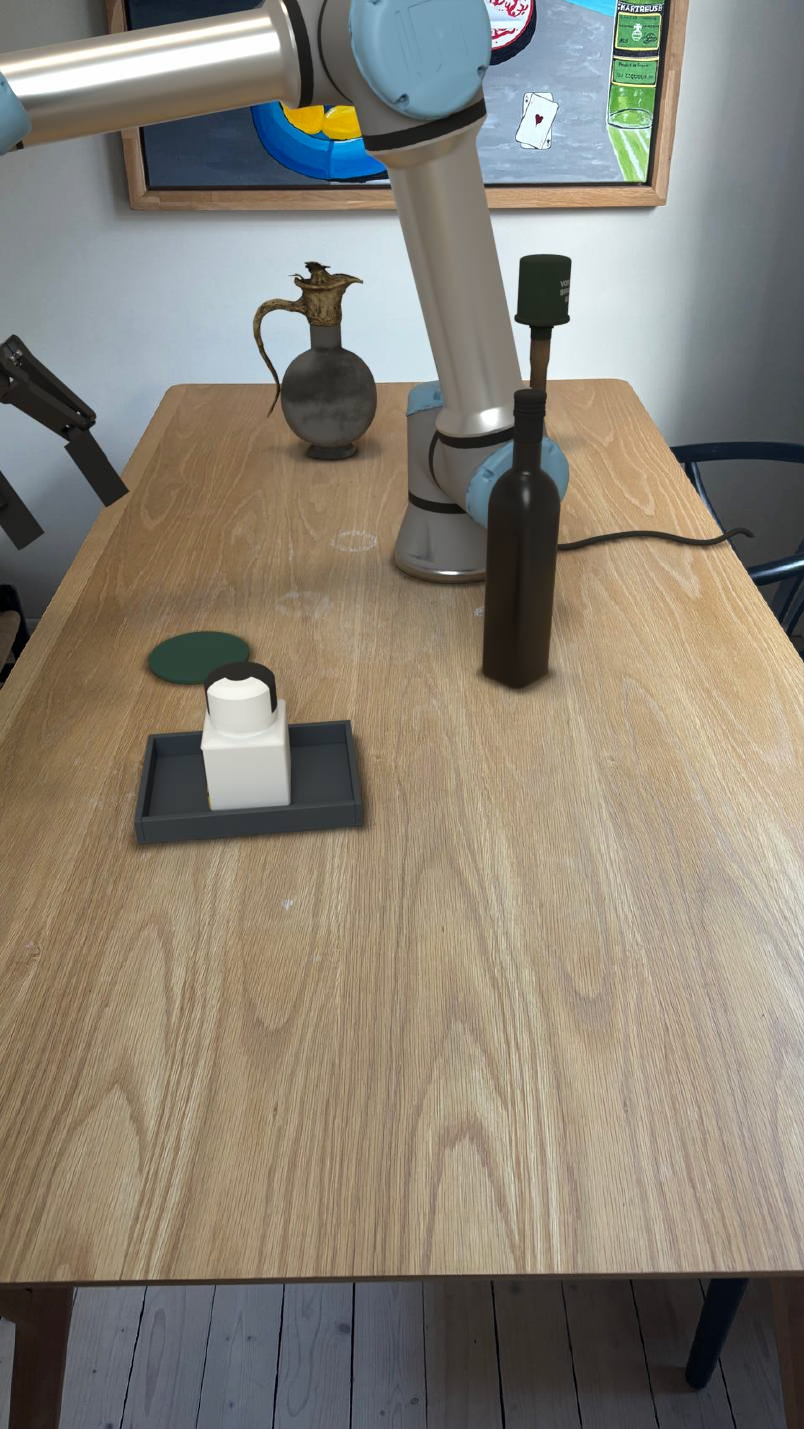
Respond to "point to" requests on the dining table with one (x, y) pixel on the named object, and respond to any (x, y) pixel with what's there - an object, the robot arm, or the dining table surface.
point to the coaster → (195, 656)
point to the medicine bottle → (245, 739)
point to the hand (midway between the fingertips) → (77, 519)
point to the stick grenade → (542, 306)
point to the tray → (183, 813)
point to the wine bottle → (521, 555)
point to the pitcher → (322, 370)
